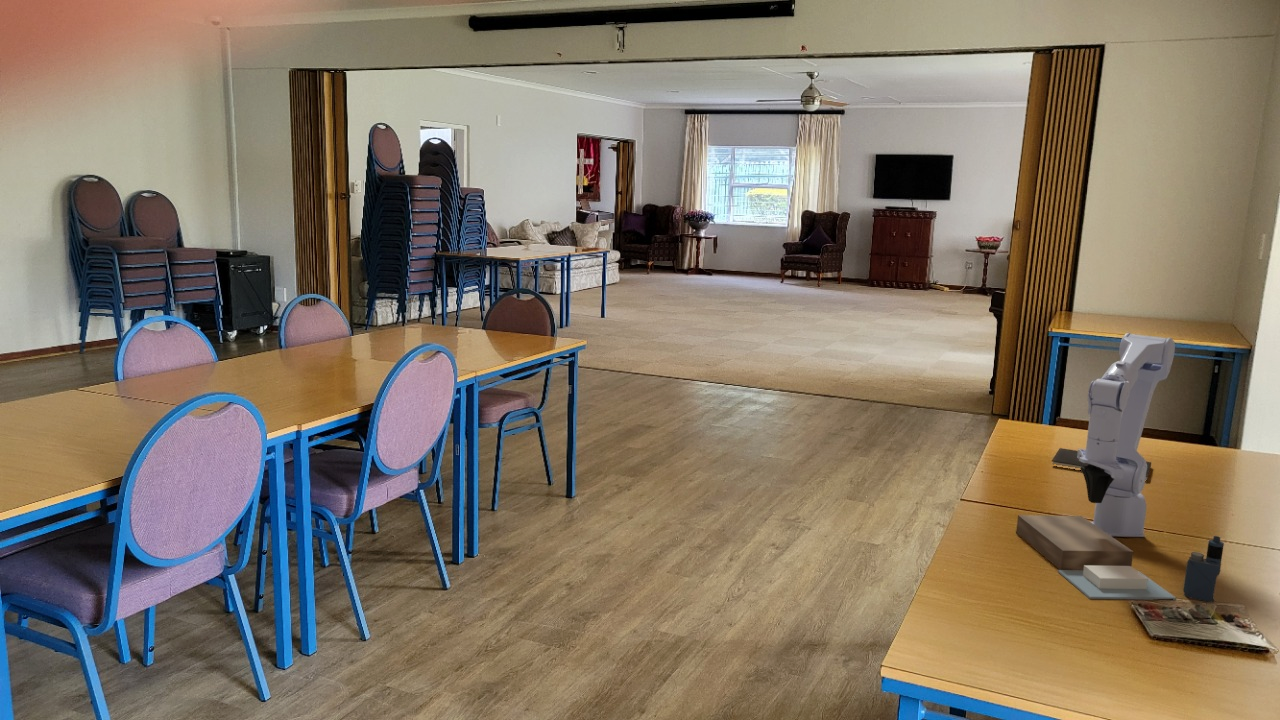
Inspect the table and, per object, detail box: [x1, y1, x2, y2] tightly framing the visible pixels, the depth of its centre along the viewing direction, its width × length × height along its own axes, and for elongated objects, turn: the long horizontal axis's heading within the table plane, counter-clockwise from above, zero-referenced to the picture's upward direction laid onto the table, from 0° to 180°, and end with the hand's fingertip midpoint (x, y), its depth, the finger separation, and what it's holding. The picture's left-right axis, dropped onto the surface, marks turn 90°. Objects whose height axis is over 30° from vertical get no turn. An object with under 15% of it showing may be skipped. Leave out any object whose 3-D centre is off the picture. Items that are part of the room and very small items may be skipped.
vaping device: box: [1182, 535, 1225, 603], centre depth 171 cm, size 3×5×12 cm, turn 58°
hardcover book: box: [1051, 447, 1152, 481], centre depth 254 cm, size 16×23×2 cm
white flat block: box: [1083, 565, 1149, 589], centre depth 177 cm, size 9×6×2 cm, turn 92°
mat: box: [1057, 569, 1177, 601], centre depth 176 cm, size 16×12×1 cm
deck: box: [1015, 514, 1134, 570], centre depth 193 cm, size 14×20×4 cm
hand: (1095, 501), depth 193 cm, fingers closed
